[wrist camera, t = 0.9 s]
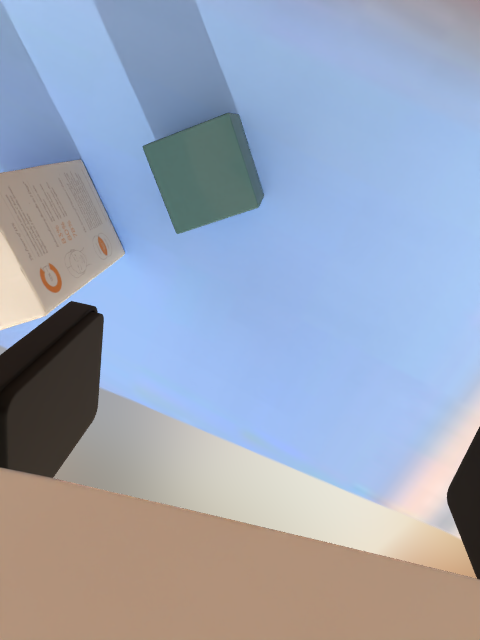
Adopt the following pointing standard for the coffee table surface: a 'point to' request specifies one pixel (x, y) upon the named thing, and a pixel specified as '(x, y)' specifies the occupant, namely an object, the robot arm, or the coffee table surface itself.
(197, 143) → the teal block
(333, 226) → the coffee table surface
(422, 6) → the coffee table surface
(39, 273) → the small box
